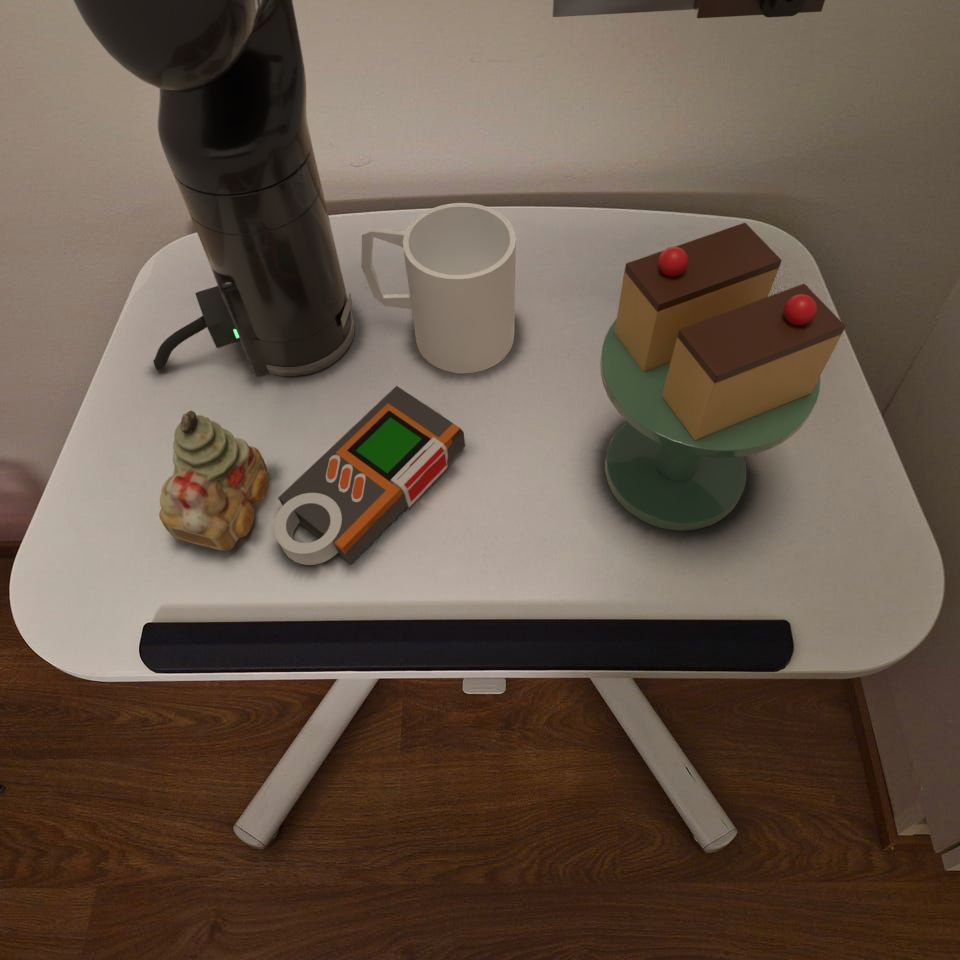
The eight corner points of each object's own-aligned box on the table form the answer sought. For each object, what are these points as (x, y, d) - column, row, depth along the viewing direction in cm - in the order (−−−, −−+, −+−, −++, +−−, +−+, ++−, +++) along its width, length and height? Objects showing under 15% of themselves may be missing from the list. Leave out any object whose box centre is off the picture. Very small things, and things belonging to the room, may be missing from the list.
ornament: (248, 562, 54) (201, 484, 46) (163, 552, 55) (102, 474, 46) (279, 467, 59) (242, 380, 50) (201, 458, 59) (150, 372, 51)
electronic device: (250, 519, 53) (399, 379, 59) (263, 538, 56) (404, 402, 61) (319, 576, 51) (467, 424, 56) (329, 593, 53) (470, 446, 59)
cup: (386, 289, 68) (369, 192, 60) (521, 306, 67) (524, 209, 58) (360, 360, 64) (338, 265, 56) (504, 379, 63) (504, 285, 54)
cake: (694, 441, 44) (723, 357, 38) (613, 332, 49) (628, 243, 43) (811, 393, 46) (856, 306, 40) (722, 292, 50) (751, 201, 45)
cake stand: (641, 578, 53) (674, 482, 43) (553, 436, 59) (563, 325, 49) (801, 508, 55) (867, 402, 45) (700, 380, 62) (738, 262, 52)
